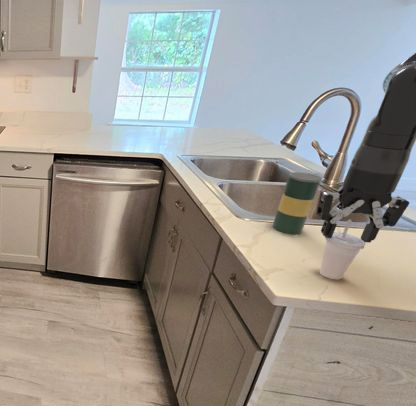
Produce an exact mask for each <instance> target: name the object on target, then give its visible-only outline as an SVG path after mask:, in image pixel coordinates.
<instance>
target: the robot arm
mask: <svg viewBox="0 0 416 406" xmlns="http://www.w3.org/2000/svg"><path fill="white" fill-rule="evenodd" d="M382 91H383V93H384V96H383V99H382V101H381V104H380V106H379V109H378V111H377V114H376V115H375V116H374V117H372V119H371V120H370V122H369V123H368V125H367V127H366V130H365V133H364V135H363V137H362V140H361V143H360V145H359V146H358V148H356V151H355V153H354V155H353V157H352V159H351V162H350V165H349V168H348V170H347V173H346V175H345V178H344V180H343V183H342V188H341V189H340V190H339V191H337V192H328V191H326V190H322V191H320V194H319V198H318V203H317V207H316V212H315V215H316V216H317V217H319V218H320V219H321V221H323V224H322V226H321V229H320V233H321V234H322V236H323V237H324V238H325V237H326V238H332V235H333V233H334V232H335V230H336V228H337V225H338V224H337V223H338V222H340V221H341V219H343V218H346V217H348V216H349V215H350V214H363V215H366V216H367V219H368V223H366V224H365V227H364V228H363V231H362V233H361V236H360V239H362V240H363V241H364V242H365V243H369V244H371V243H372V241H375V239H376V238H377V236H378V234H379V231H380V229H382V228H383V227H395V226H396V225H397V223H398V222H399V220H400V219H401V217H402V216H403V214H404V213H405V211H406V210H407V208H408V207H409V205H410V201H408V200H407V199H405V198H403V197H401V196H399V195H397V196H392V194H393V193H394V192H395V191H396V189H397V187H398V184H399V182H400V180H401V178H402V176H403V174H404V172H405V169H406V167H407V165H408V164H409V161H410V157H411V153H412V151H413V150H412V149H413V148H414V146H415V143H416V52H414V53H413V54H411V55H410V56H409V57H407V58H405V59H404V60H403V61H402V62H400V63H398V64H397V65H396V66H394V68H392V69H391V70H390V71H389V72H388V73H387V74H386V76H385V77H384V79H383V81H382ZM337 199H338V202H337V203H336V204H335V205H333V207H332V204H334V203H335V202H336V200H337ZM385 206H387V208H386V210H385V211H384V213H383V211H382V208H383V207H385ZM331 208H332V209H331Z"/></svg>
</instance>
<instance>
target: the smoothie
mask: <svg viewBox="0 0 416 406" xmlns="http://www.w3.org/2000/svg"><path fill="white" fill-rule="evenodd" d="M352 222H353V221H352V219H350V218H348V219H347V222H346V223H345V224H346V225H345V227H344V229H343V232H338V231H334V233H333V235H332V238H326V237H325V236H324V239H325V245H324V249H323V254H322V259H321V263H320V268H319V274H320V275H321V276H323V277H325V278H327V279H330V280H337V281H338V280H341V279H342V277H343V276H344V275H345V274H346V272H347V270H348V269H349V268H350V266H351V265H352V264H353V262H354V260H355V259H356V257H357V255H358V254H359V252H360V251H361V250H364V248H365V245H366V242H364V241H363V240H362V239H361V237H358V236H356V235H352V234H349V233H348V231H349V228H350V226H351V224H352Z"/></svg>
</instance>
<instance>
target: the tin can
mask: <svg viewBox="0 0 416 406" xmlns="http://www.w3.org/2000/svg"><path fill="white" fill-rule="evenodd" d="M321 182H322V177H321V176H320V175H316V174H313V173H308V172H300V171H297V172H296V171H295V172H294V171H293V172H289V174H288V178H287V181H286V184H285V187H284V190H283V193H282V195H281V198H280V200H279V204H278V207H277V211H276V213H275V218H274V220H273V222H272V228H273V229H274V230H276V231H278V232H281V233H283V234H289V235H300V234H302V232H303V230H304V227H305V224H306V222H307V219H308V216H309V214H310V211H311V208H312V206H313V204H314V200H315V197H316V194H317V191H318V189H319V187H320V184H321Z"/></svg>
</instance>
